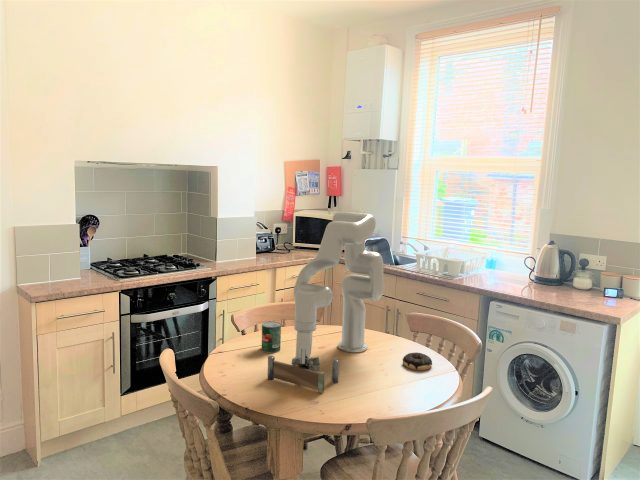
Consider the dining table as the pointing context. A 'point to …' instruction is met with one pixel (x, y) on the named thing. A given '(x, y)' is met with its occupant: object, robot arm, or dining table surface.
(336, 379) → the gate posts
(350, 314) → the robot arm
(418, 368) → the donut
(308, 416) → the dining table surface
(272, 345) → the canned tomato
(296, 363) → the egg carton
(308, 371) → the gate
